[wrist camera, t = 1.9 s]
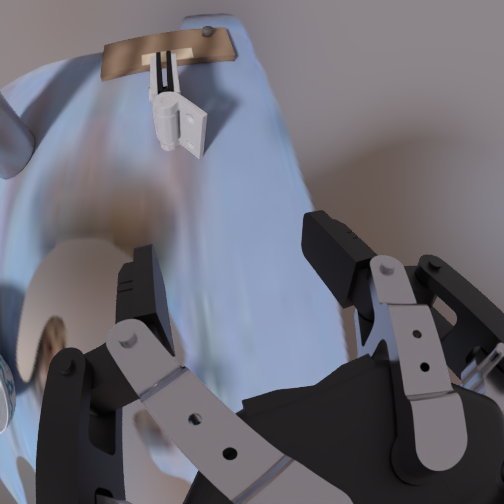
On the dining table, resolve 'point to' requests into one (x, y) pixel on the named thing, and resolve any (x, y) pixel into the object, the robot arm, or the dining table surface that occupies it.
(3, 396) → the chinaware
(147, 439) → the dining table surface
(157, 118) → the hinge
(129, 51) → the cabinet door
